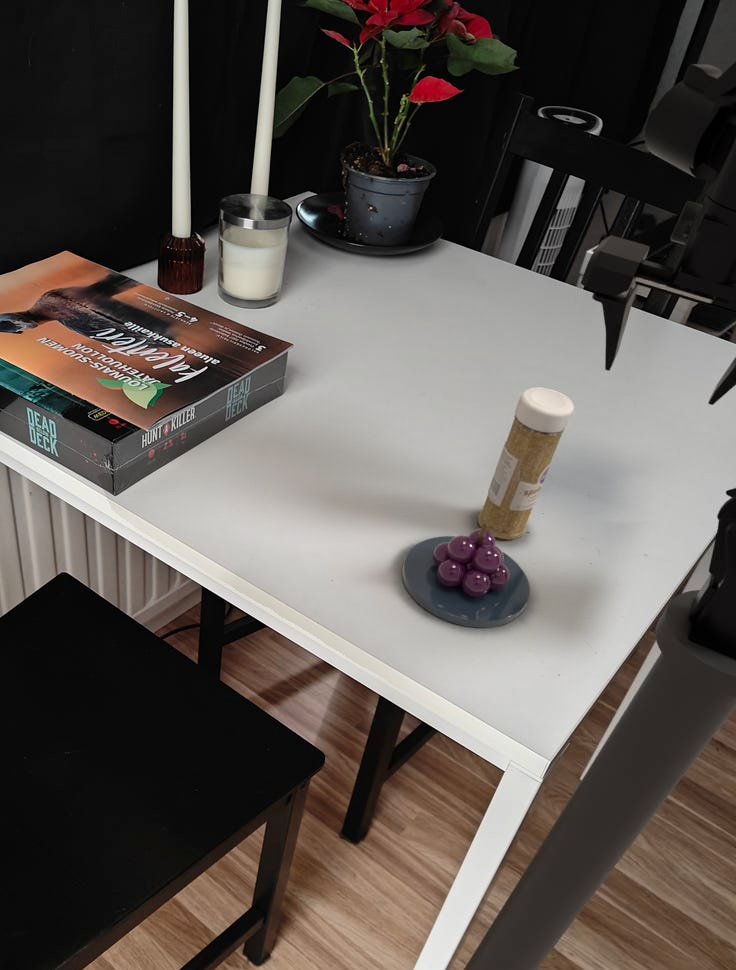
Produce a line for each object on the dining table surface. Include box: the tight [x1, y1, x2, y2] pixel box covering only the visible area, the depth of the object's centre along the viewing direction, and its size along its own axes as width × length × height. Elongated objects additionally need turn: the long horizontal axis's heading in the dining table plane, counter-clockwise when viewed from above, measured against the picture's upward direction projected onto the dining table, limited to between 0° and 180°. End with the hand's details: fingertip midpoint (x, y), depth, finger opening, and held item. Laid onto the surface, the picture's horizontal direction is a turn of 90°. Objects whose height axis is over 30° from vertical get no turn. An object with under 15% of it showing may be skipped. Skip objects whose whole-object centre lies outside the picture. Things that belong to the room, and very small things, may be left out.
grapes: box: [401, 522, 531, 628], centre depth 76 cm, size 11×11×7 cm
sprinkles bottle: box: [477, 386, 575, 540], centre depth 80 cm, size 5×5×14 cm
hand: (658, 385), depth 80 cm, fingers open, 9 cm apart
